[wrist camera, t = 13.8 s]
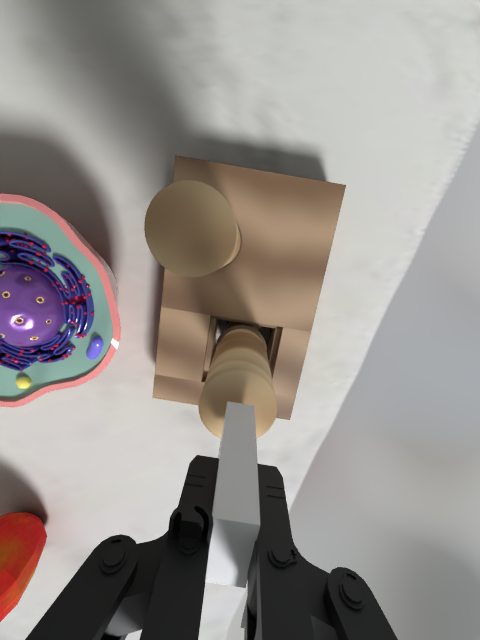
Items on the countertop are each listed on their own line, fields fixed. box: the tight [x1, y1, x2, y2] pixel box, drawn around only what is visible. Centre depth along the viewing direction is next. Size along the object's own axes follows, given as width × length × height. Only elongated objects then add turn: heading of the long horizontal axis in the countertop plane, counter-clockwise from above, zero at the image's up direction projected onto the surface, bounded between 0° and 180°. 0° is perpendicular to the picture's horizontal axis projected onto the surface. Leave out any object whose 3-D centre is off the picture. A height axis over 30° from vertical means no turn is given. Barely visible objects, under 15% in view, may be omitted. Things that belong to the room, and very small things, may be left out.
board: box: [145, 155, 346, 420], centre depth 21 cm, size 22×14×14 cm, turn 171°
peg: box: [199, 321, 277, 438], centre depth 23 cm, size 5×5×14 cm
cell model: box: [0, 194, 121, 407], centre depth 23 cm, size 17×20×11 cm
